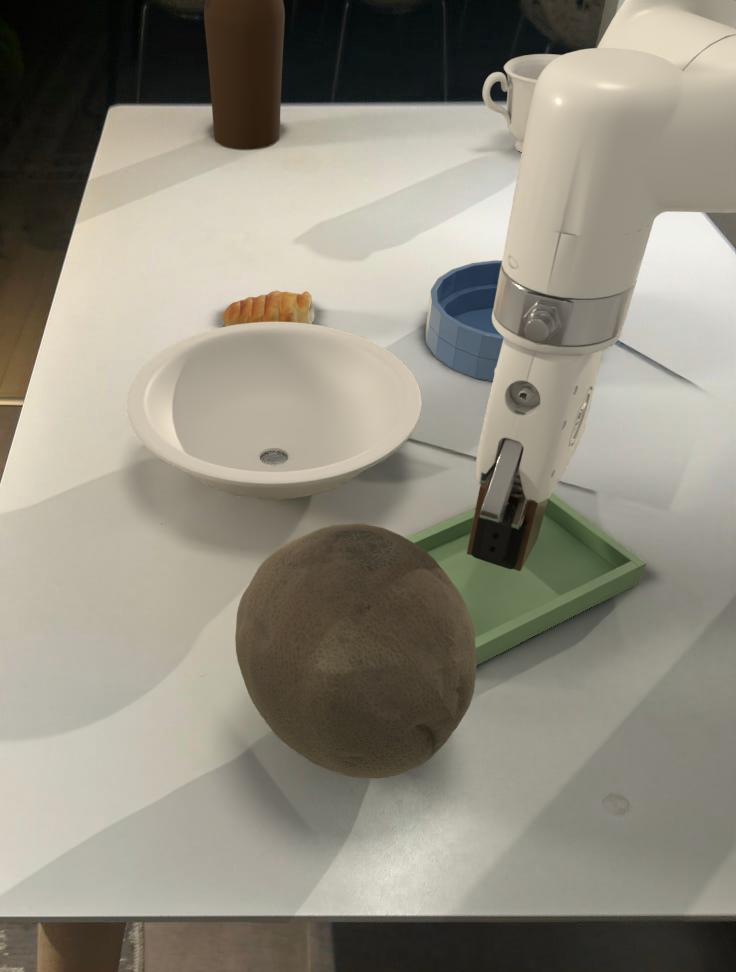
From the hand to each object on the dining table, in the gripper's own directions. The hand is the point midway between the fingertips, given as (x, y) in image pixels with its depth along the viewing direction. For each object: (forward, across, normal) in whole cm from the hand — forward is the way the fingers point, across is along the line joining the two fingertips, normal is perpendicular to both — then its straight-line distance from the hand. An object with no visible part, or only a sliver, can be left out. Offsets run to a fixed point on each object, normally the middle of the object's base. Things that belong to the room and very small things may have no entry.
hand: (504, 539), depth 68 cm
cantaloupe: (+4, -18, +4) cm, 19 cm away
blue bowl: (+4, +34, +10) cm, 36 cm away
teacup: (+4, +86, +25) cm, 90 cm away
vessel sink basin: (+4, +6, +22) cm, 23 cm away
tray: (+4, 0, 0) cm, 4 cm away
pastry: (+4, +26, +32) cm, 42 cm away
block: (+1, 0, 0) cm, 1 cm away
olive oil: (+4, +73, +62) cm, 96 cm away
